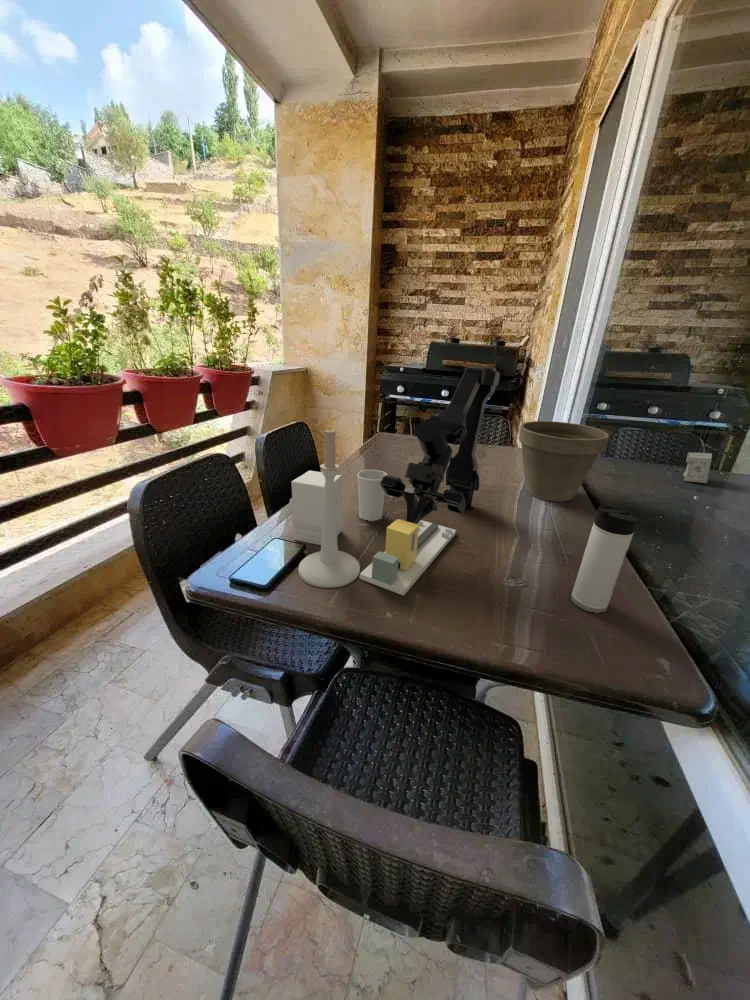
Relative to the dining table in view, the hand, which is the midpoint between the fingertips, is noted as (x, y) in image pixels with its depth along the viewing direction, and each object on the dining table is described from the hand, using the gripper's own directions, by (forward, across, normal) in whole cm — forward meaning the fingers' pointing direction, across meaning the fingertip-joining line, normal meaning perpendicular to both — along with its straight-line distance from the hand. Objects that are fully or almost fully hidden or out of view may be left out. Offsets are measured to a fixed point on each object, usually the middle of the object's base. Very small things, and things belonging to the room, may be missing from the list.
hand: (408, 528), depth 82 cm
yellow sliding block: (+7, 0, +3) cm, 7 cm away
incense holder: (-76, +67, +87) cm, 133 cm away
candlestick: (+14, -12, -2) cm, 19 cm away
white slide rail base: (+3, 0, +9) cm, 9 cm away
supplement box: (+7, -23, +5) cm, 24 cm away
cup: (-5, -18, +17) cm, 25 cm away
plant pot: (-40, +21, +52) cm, 68 cm away
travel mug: (+1, +36, +11) cm, 38 cm away
